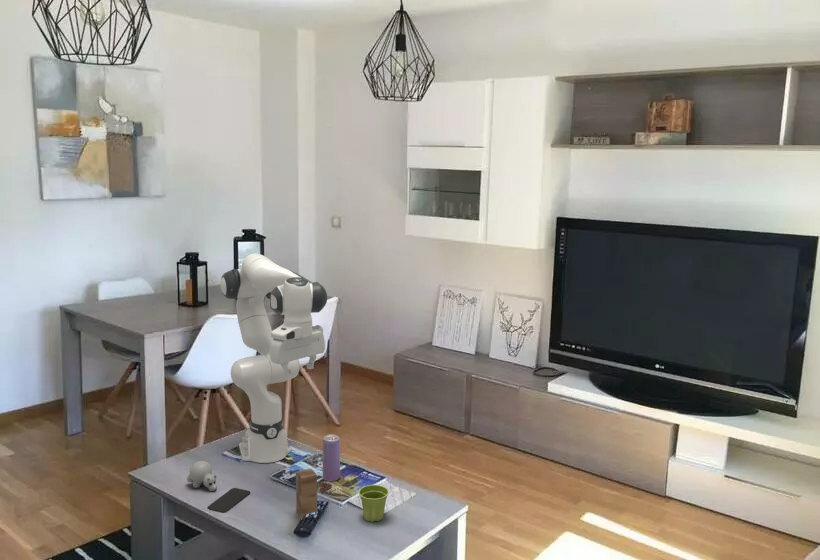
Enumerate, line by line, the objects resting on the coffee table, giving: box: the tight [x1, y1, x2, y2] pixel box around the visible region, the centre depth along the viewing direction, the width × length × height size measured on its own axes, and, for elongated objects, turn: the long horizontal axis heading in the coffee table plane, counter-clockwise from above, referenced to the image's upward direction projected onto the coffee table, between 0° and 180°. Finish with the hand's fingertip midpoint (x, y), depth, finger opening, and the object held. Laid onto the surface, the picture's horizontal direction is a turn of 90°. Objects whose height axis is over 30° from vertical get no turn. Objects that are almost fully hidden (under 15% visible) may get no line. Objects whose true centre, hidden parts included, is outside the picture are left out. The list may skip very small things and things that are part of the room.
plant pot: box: [358, 484, 390, 523], centre depth 223 cm, size 9×9×9 cm
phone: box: [207, 487, 251, 514], centre depth 232 cm, size 7×1×15 cm
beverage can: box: [322, 434, 341, 482], centre depth 249 cm, size 6×6×15 cm
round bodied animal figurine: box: [186, 460, 218, 492], centre depth 240 cm, size 7×12×8 cm, turn 53°
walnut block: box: [295, 468, 318, 519], centre depth 223 cm, size 5×5×14 cm
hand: (299, 371), depth 227 cm, fingers open, 8 cm apart
